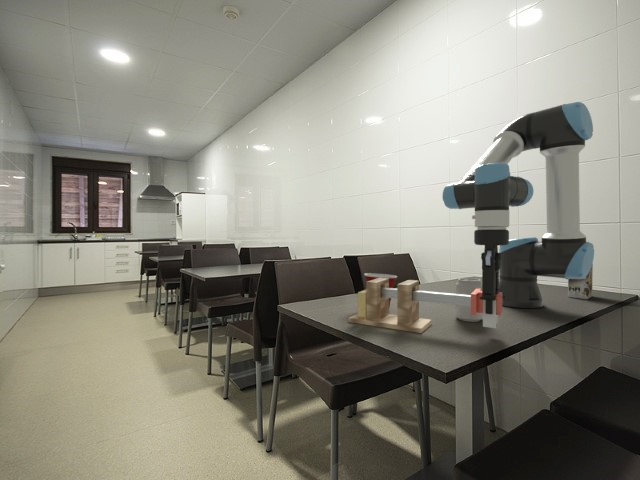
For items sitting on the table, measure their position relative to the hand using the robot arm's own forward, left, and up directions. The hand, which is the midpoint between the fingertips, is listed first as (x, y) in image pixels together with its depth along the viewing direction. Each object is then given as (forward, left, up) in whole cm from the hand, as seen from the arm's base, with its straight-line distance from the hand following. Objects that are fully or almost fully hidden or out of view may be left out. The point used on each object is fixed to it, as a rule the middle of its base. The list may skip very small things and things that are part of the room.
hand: (490, 324), depth 84 cm
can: (+7, -16, -4) cm, 18 cm away
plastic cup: (+34, -14, -4) cm, 37 cm away
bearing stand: (+25, 0, -3) cm, 26 cm away
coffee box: (-24, -74, -4) cm, 78 cm away
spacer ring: (+33, 0, +2) cm, 33 cm away
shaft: (+13, 0, +3) cm, 13 cm away
